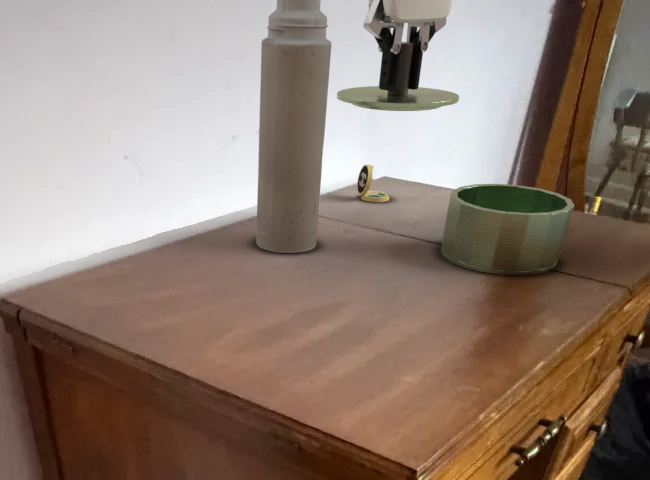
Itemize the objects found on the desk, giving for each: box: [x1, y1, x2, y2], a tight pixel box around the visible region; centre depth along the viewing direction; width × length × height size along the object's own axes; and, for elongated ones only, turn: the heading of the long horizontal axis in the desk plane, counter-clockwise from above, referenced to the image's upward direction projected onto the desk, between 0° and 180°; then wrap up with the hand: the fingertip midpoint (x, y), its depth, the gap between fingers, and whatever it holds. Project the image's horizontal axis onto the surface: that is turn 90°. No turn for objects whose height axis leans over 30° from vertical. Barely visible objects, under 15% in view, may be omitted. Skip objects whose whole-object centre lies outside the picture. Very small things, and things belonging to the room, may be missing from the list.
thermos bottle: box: [255, 0, 332, 254], centre depth 87 cm, size 8×8×28 cm
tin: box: [440, 183, 575, 276], centre depth 91 cm, size 15×15×7 cm
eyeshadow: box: [356, 164, 390, 203], centre depth 113 cm, size 4×5×5 cm
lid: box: [336, 41, 460, 112], centre depth 92 cm, size 16×16×7 cm
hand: (398, 87), depth 93 cm, fingers closed on lid, 2 cm apart
